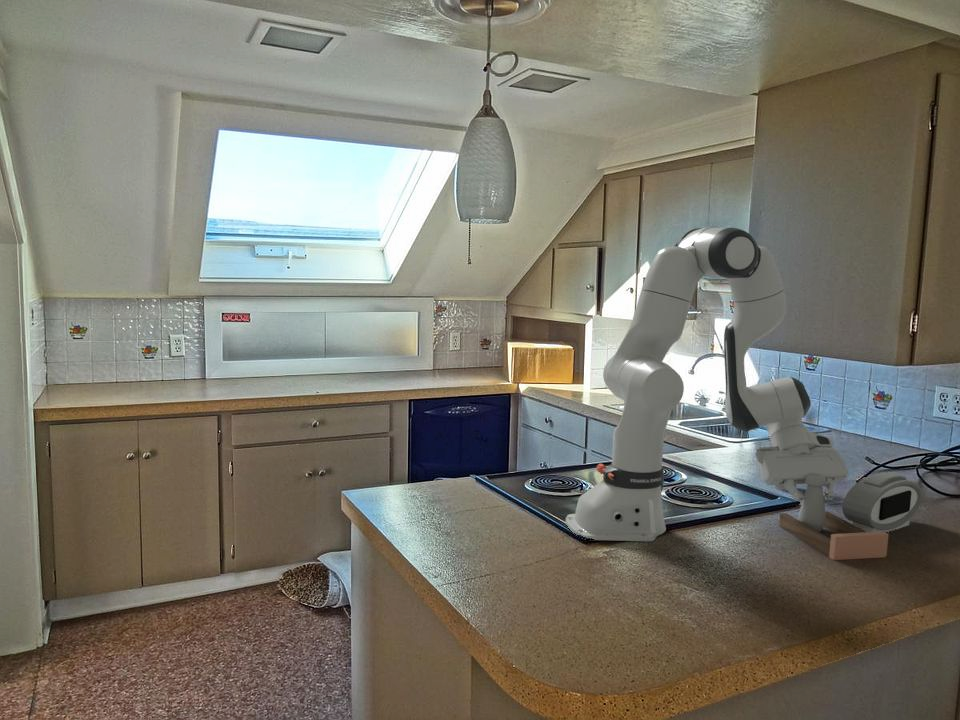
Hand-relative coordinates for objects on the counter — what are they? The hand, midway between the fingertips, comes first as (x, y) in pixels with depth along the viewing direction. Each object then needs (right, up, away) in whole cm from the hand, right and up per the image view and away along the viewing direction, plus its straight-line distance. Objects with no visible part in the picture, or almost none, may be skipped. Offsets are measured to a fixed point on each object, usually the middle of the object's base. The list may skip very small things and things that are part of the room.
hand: (815, 499), depth 167 cm
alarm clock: (+17, -8, +3) cm, 19 cm away
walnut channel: (+1, -8, -4) cm, 9 cm away
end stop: (+3, -9, -14) cm, 17 cm away
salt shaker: (0, -7, +2) cm, 8 cm away
